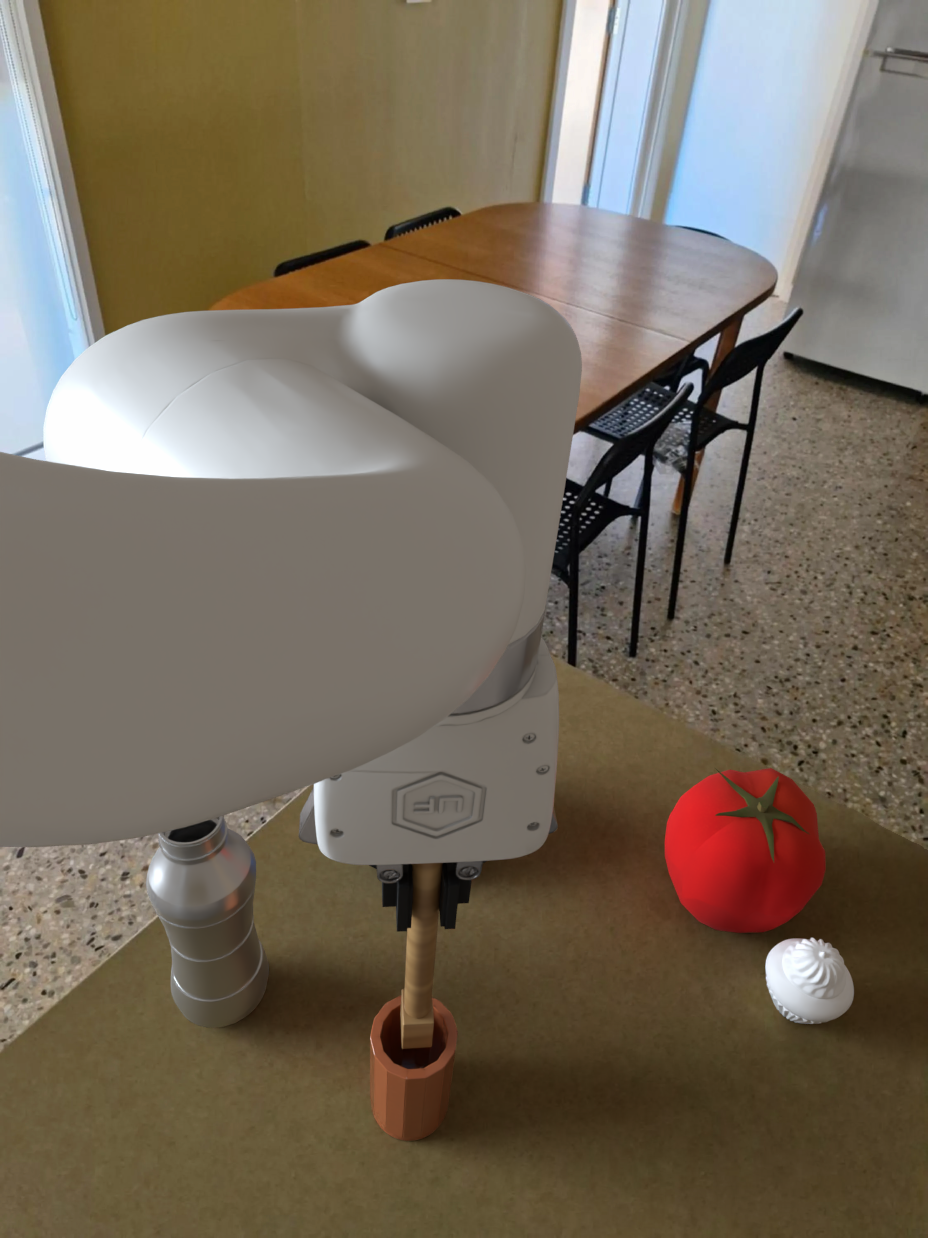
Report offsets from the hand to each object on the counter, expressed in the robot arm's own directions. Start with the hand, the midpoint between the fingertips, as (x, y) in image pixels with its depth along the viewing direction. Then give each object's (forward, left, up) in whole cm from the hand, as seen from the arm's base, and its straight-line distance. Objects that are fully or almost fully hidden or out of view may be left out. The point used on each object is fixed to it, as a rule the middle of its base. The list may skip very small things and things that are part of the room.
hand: (424, 903), depth 45 cm
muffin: (+5, -29, -23) cm, 37 cm away
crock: (0, 0, -23) cm, 23 cm away
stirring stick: (0, 0, -14) cm, 14 cm away
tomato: (+15, -27, -23) cm, 38 cm away
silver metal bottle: (+8, +13, -23) cm, 27 cm away
